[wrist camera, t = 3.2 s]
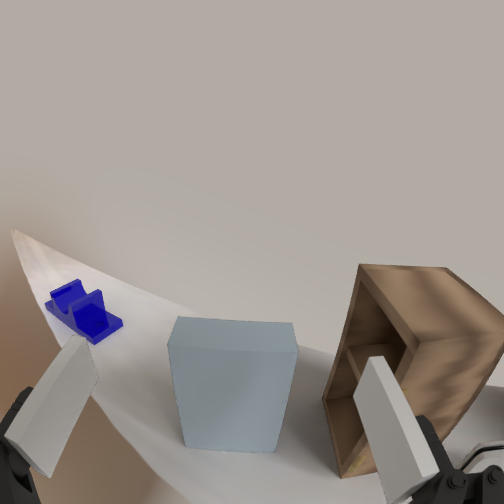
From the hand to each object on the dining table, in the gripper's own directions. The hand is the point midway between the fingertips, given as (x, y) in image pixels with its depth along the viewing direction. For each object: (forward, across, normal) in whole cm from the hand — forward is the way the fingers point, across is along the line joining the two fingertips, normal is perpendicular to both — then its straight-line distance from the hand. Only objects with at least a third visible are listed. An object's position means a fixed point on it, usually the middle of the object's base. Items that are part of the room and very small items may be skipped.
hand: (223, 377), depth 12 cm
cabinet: (+10, +18, -21) cm, 29 cm away
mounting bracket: (+31, -30, -22) cm, 48 cm away
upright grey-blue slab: (+10, 0, -21) cm, 23 cm away
